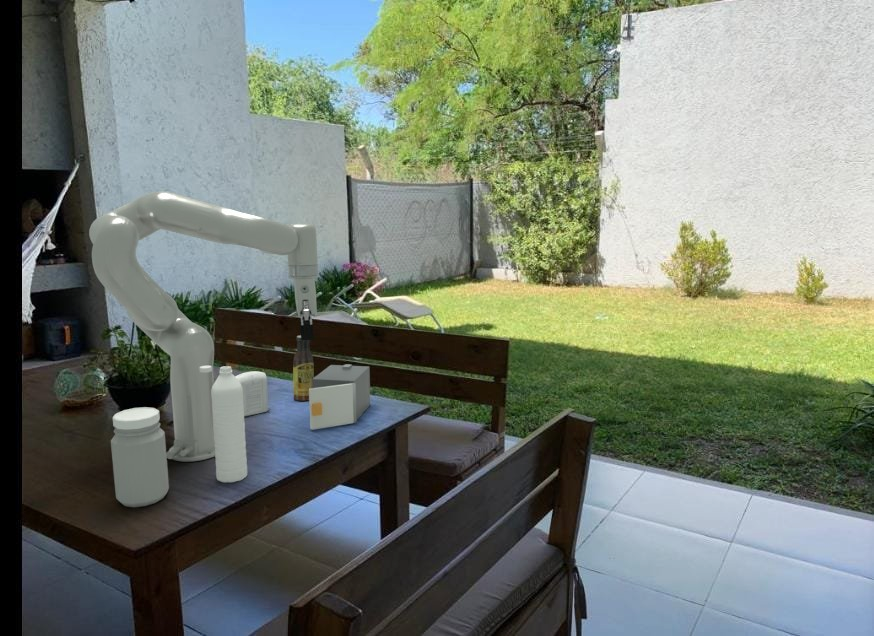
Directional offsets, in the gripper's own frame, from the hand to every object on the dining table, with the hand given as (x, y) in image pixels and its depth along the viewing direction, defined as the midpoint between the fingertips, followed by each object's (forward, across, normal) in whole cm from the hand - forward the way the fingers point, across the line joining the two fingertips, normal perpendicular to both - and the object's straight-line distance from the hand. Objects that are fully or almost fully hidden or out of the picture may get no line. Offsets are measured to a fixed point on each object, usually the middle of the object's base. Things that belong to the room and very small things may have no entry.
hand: (306, 336), depth 162 cm
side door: (+25, -3, -6) cm, 26 cm away
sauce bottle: (+26, +26, +1) cm, 36 cm away
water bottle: (+25, -28, +19) cm, 42 cm away
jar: (+24, -35, +35) cm, 55 cm away
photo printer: (+25, +15, +17) cm, 34 cm away
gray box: (+25, +10, -9) cm, 29 cm away
